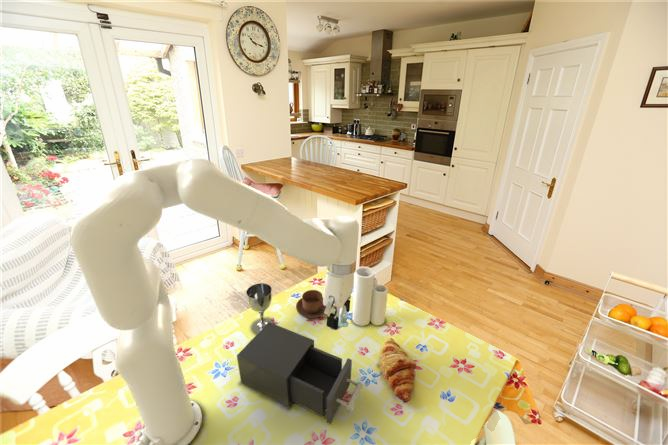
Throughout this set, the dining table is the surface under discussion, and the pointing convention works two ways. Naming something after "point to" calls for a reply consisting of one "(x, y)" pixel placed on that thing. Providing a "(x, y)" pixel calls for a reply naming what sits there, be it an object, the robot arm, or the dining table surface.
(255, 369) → the cabinet
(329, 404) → the drawer
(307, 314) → the cup and saucer
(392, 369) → the croissant
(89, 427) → the dining table surface
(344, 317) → the pacifier
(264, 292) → the wine glass
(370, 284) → the vase
